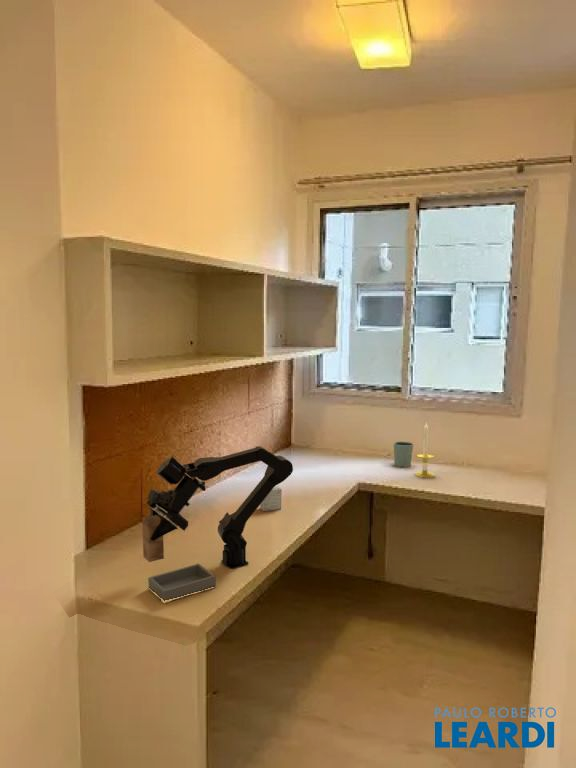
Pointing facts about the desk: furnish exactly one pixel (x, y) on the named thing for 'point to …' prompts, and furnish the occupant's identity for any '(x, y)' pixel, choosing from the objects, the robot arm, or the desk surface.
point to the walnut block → (151, 548)
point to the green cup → (403, 454)
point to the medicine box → (272, 500)
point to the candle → (425, 456)
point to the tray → (181, 582)
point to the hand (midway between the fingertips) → (148, 537)
